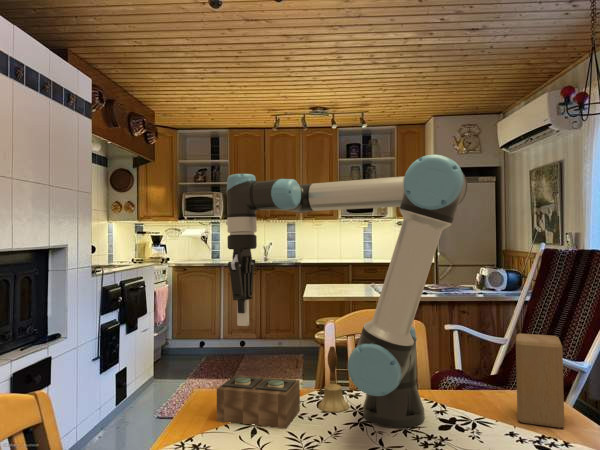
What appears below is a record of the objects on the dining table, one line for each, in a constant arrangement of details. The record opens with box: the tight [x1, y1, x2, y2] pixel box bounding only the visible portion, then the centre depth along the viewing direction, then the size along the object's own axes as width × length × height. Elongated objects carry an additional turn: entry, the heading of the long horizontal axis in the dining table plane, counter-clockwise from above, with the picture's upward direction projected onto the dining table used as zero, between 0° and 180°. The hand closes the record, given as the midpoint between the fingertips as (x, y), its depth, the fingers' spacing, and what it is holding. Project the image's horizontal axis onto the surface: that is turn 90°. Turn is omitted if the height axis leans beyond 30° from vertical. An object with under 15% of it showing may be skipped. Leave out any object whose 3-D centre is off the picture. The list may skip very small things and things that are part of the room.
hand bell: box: [317, 345, 350, 413], centre depth 126 cm, size 8×8×16 cm
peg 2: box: [268, 380, 284, 388], centre depth 119 cm, size 4×4×8 cm
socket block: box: [216, 374, 301, 429], centre depth 120 cm, size 18×12×8 cm, turn 74°
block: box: [515, 333, 565, 429], centre depth 116 cm, size 10×10×20 cm
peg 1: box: [235, 377, 251, 385], centre depth 121 cm, size 4×4×8 cm
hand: (243, 325), depth 121 cm, fingers closed
